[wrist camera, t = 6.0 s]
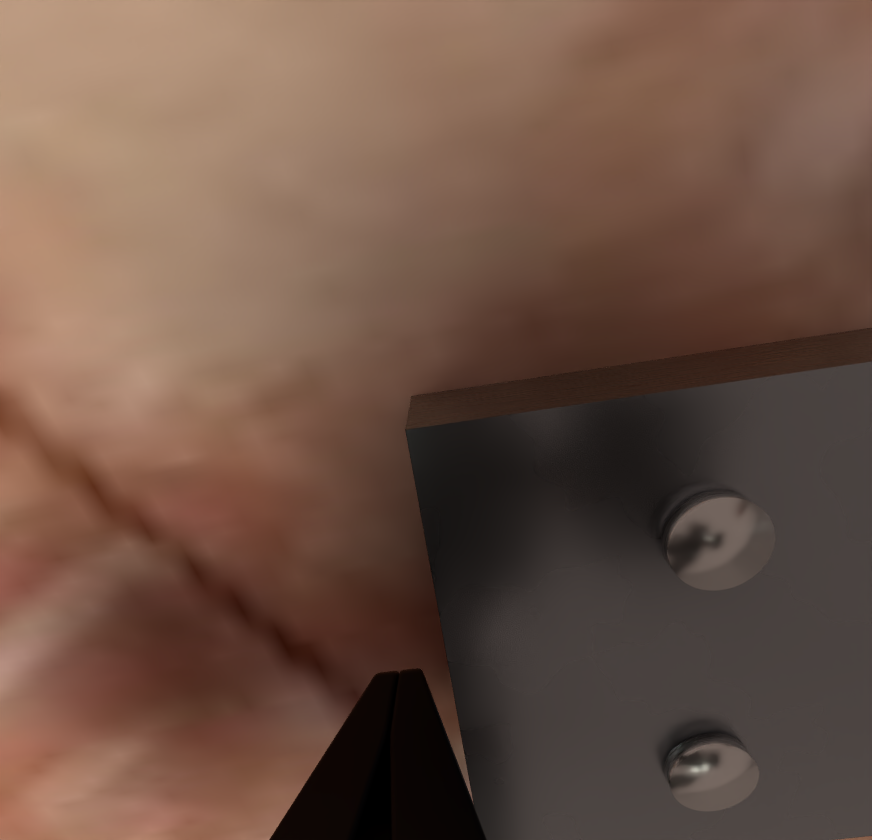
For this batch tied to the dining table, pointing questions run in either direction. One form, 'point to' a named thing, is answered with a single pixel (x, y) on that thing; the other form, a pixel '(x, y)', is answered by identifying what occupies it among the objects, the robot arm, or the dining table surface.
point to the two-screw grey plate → (660, 593)
